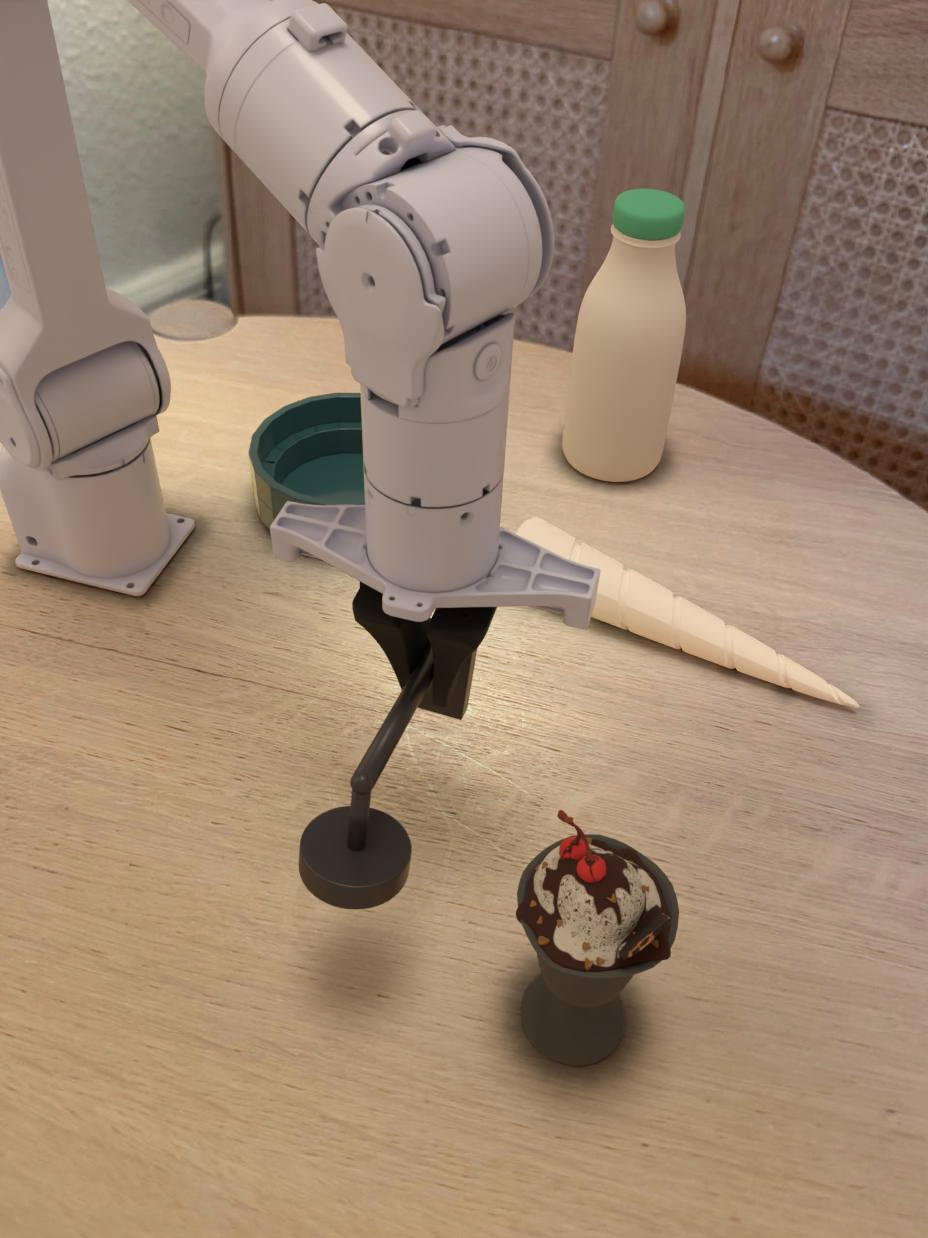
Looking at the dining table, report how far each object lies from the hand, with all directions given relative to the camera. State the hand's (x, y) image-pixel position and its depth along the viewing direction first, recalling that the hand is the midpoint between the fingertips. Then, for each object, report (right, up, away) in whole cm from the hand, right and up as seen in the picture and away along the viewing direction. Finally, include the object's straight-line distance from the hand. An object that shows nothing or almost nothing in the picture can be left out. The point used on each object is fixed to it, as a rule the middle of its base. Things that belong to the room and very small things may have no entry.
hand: (430, 688), depth 53 cm
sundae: (+7, -16, -2) cm, 17 cm away
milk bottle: (+13, +16, +30) cm, 37 cm away
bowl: (-7, +12, +25) cm, 29 cm away
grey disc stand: (-2, -5, -2) cm, 5 cm away
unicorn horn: (+15, +2, +17) cm, 22 cm away
